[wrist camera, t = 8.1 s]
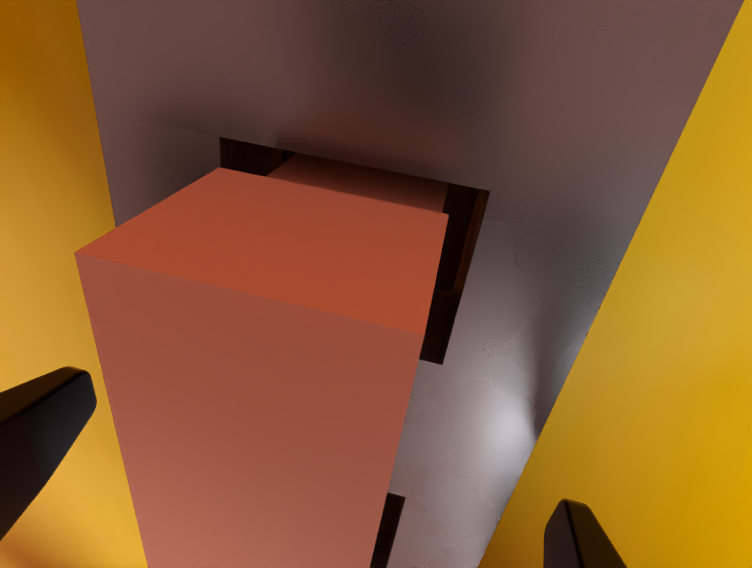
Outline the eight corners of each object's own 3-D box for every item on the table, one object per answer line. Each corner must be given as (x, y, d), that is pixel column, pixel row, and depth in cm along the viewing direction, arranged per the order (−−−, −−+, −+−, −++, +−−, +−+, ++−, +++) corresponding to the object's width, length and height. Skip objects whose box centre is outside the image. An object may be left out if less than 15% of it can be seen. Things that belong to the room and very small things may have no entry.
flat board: (149, -393, 6) (-28, -601, 4) (806, -344, 5) (1015, -579, 3) (219, 541, 18) (183, 614, 16) (428, 604, 17) (419, 689, 15)
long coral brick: (308, 114, 9) (74, 251, 4) (463, 144, 9) (425, 334, 4) (289, 454, 14) (179, 700, 9) (386, 480, 14) (326, 749, 9)
